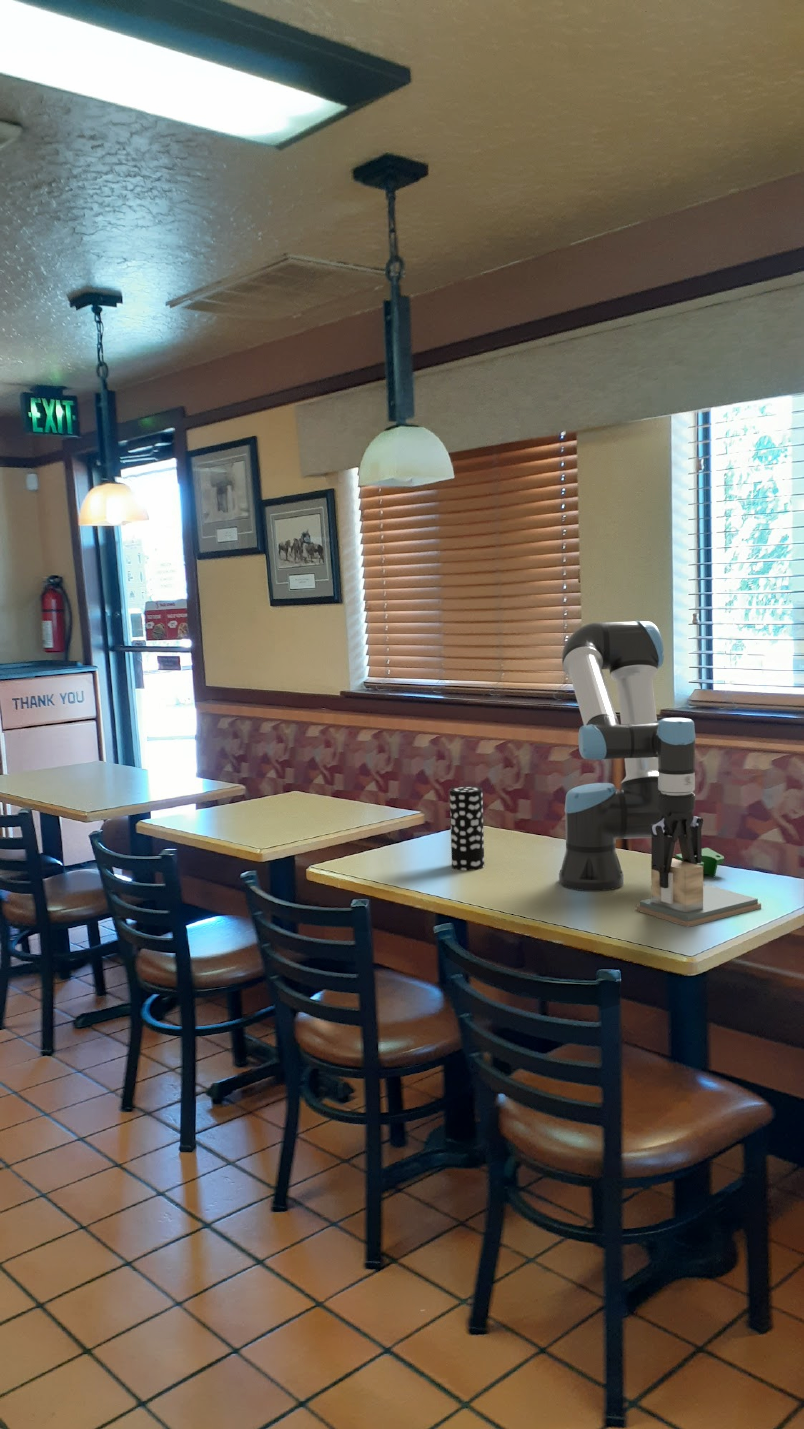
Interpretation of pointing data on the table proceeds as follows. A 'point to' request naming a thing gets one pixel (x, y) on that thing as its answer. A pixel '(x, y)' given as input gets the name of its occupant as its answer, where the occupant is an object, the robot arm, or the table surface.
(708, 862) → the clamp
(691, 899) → the wooden block
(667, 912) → the slate board
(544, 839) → the table surface
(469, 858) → the white-spotted black cylinder
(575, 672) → the robot arm
